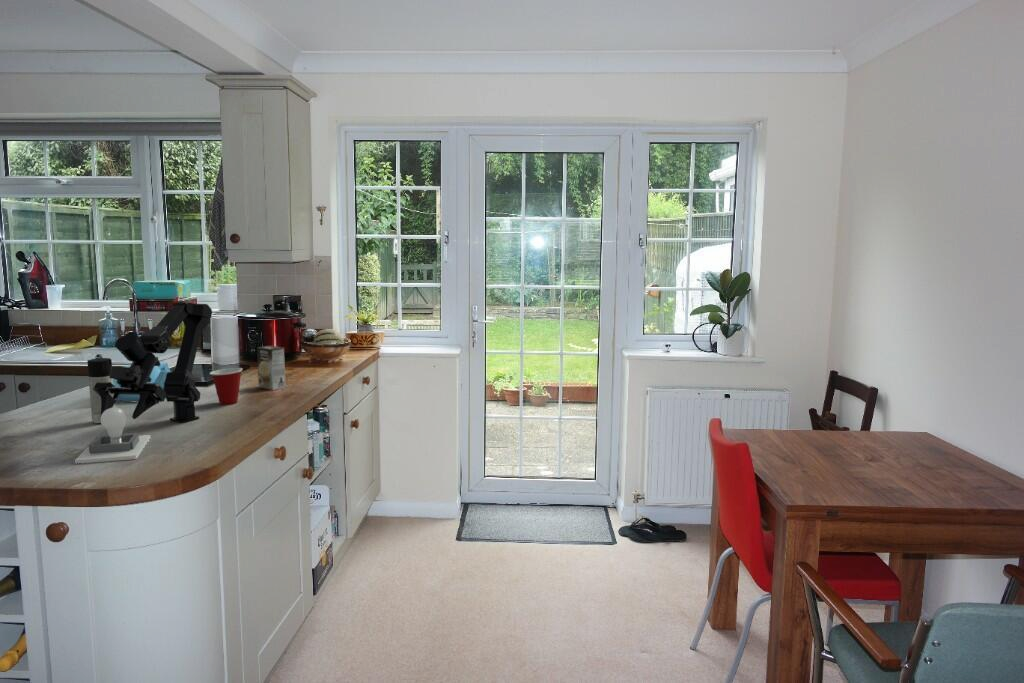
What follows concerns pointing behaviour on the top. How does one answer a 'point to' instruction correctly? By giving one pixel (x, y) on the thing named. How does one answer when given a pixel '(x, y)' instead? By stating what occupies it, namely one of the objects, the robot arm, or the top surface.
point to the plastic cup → (227, 384)
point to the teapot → (157, 377)
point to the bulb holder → (113, 449)
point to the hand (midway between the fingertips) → (117, 417)
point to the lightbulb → (114, 423)
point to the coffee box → (271, 367)
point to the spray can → (98, 373)
